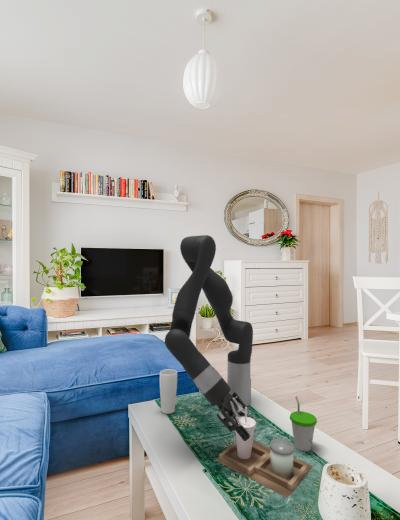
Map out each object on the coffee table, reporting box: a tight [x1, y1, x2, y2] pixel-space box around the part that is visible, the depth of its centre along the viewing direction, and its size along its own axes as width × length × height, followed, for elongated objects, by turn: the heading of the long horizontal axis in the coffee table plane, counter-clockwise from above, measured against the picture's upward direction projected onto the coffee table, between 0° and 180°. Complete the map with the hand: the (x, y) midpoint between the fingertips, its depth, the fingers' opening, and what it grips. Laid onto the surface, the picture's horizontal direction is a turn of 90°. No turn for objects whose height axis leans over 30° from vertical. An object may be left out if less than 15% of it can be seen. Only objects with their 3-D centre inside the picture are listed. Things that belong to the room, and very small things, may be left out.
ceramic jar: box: [269, 438, 295, 479], centre depth 88 cm, size 6×6×7 cm
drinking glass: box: [159, 368, 178, 415], centre depth 124 cm, size 7×7×15 cm
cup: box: [289, 395, 318, 453], centre depth 99 cm, size 8×8×15 cm
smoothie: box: [234, 406, 257, 459], centre depth 93 cm, size 6×6×14 cm
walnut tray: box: [215, 439, 314, 499], centre depth 91 cm, size 16×22×3 cm
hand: (250, 432), depth 92 cm, fingers closed on smoothie, 6 cm apart
